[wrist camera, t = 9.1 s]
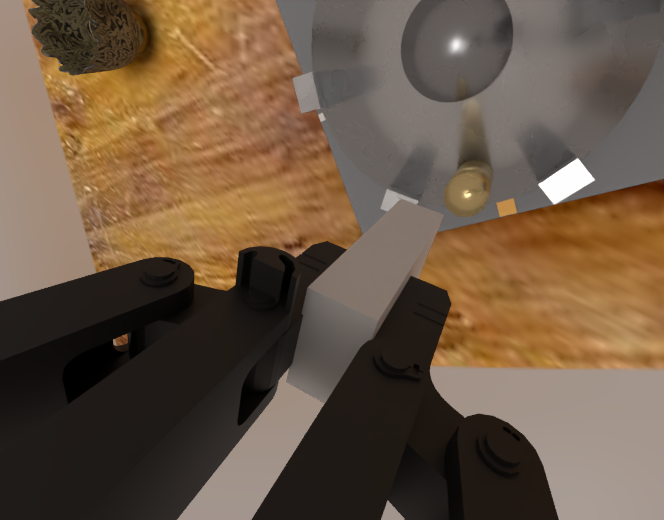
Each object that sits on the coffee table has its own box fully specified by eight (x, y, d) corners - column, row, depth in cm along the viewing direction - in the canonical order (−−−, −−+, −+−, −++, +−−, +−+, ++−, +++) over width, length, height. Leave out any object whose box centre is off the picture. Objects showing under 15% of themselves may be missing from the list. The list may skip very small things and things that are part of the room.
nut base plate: (659, -333, 18) (670, -368, 17) (715, 159, 24) (727, 164, 23) (272, -34, 30) (259, -40, 29) (373, 242, 36) (367, 249, 35)
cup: (179, 28, 36) (101, 17, 29) (151, 91, 40) (78, 94, 33) (124, -32, 36) (34, -57, 29) (103, 38, 40) (19, 30, 33)
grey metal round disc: (286, -56, 27) (212, -98, 21) (695, -278, 17) (804, -502, 11) (348, 215, 34) (307, 248, 27) (672, 173, 24) (731, 209, 17)
